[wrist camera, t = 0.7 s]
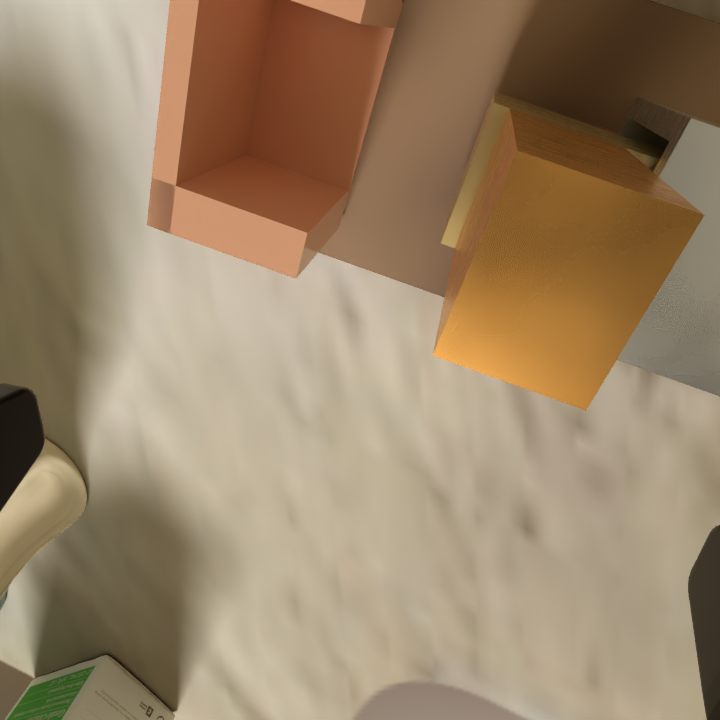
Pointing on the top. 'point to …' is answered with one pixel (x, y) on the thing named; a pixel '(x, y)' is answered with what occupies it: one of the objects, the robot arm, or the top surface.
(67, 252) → the top surface
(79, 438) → the top surface
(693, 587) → the robot arm
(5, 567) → the beer glass
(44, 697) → the skincare box
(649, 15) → the walnut board
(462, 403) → the top surface
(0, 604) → the teal mug
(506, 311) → the wooden blocks
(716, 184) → the steel sleeve
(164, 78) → the terracotta socket
